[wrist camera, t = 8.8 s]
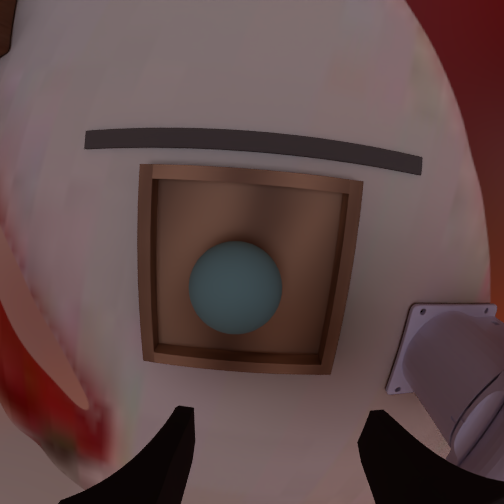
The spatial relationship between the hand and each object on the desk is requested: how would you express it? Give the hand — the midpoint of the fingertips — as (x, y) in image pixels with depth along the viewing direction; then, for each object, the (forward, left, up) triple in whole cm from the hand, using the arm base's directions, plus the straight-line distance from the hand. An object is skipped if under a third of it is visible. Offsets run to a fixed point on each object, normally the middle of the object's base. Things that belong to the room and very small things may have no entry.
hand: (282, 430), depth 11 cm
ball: (+2, -3, -7) cm, 8 cm away
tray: (+2, -3, -10) cm, 11 cm away
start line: (+2, -11, -10) cm, 15 cm away
